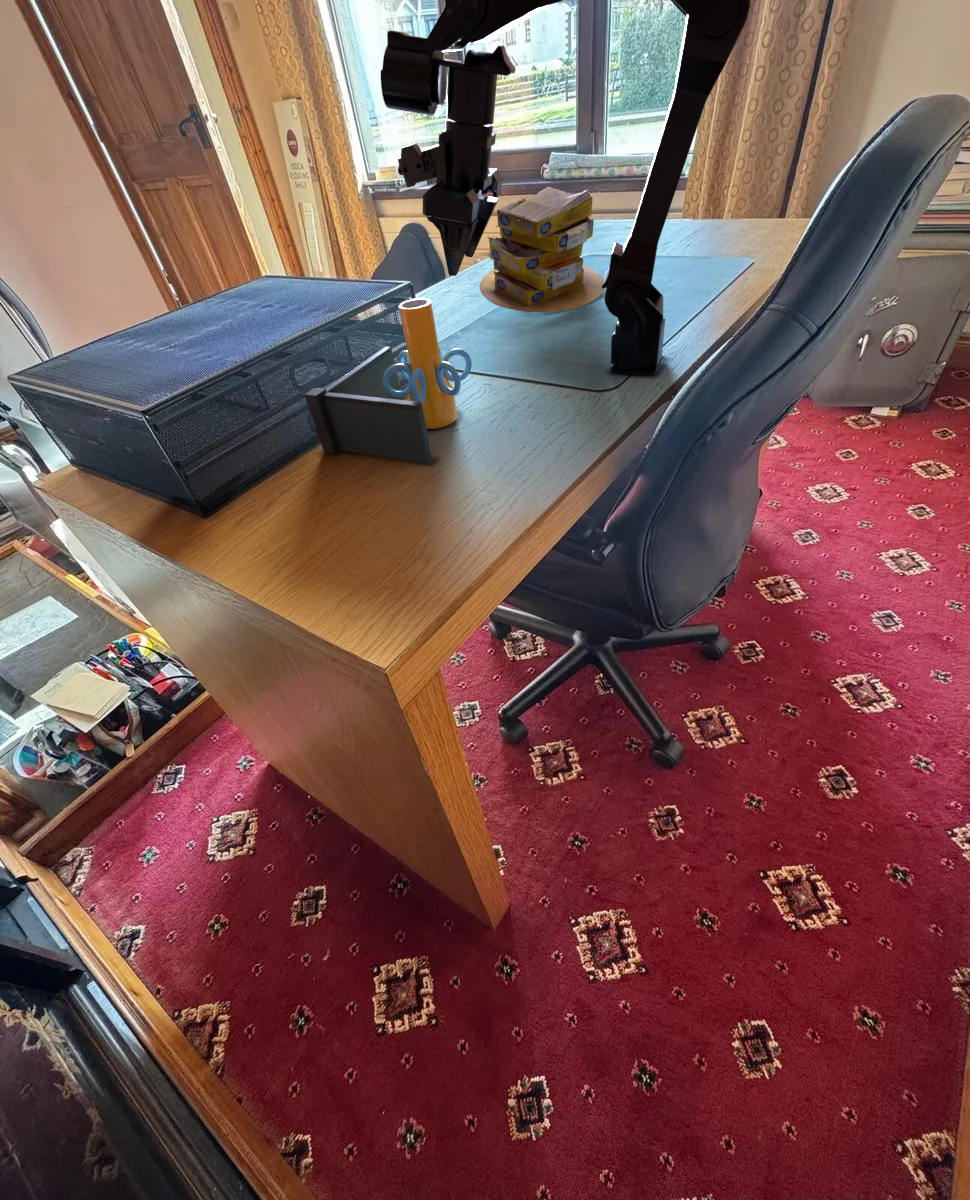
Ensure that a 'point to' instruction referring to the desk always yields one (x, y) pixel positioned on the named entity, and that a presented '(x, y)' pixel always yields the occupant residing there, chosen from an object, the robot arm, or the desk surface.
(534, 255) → the stacked yellow boxes
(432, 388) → the cylinder
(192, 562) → the desk surface
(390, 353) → the corner bracket
